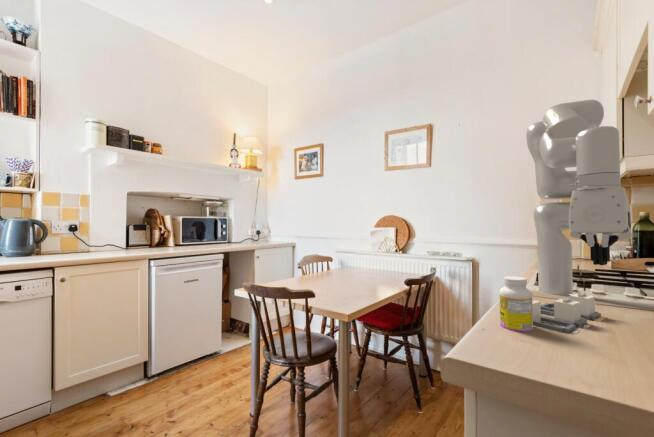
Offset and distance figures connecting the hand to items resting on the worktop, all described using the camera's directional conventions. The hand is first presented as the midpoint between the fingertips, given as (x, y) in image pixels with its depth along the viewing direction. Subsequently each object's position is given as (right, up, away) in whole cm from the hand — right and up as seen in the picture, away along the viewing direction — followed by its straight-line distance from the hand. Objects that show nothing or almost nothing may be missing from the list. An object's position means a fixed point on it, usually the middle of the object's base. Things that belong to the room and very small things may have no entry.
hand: (600, 264), depth 71 cm
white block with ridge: (-3, -15, +6) cm, 16 cm away
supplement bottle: (-17, -17, +3) cm, 24 cm away
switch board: (-3, -16, +9) cm, 19 cm away
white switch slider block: (+5, -15, +11) cm, 19 cm away
